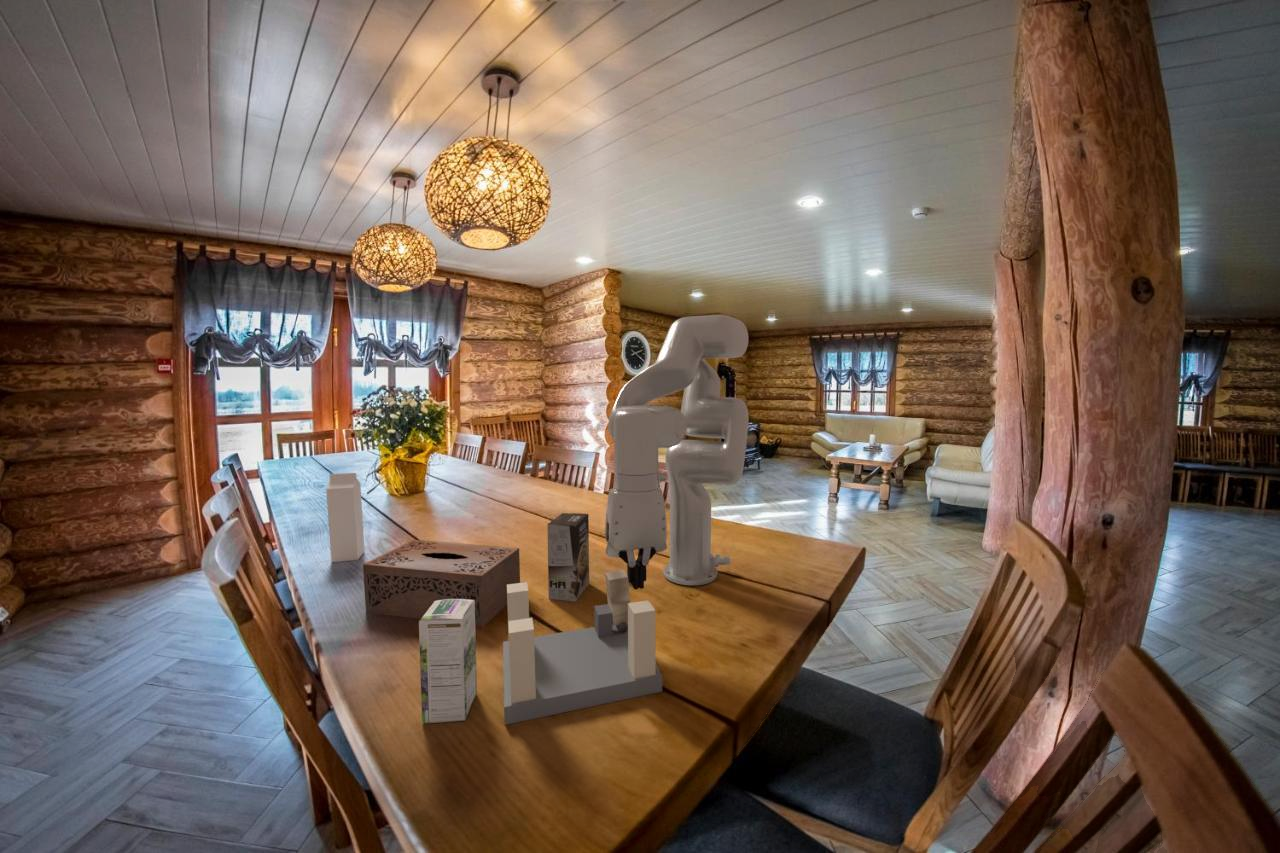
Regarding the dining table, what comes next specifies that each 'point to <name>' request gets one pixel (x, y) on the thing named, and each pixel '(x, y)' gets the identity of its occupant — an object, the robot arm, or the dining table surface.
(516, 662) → the footstool
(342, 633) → the dining table surface
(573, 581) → the coffee box
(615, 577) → the folding leg
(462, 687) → the syrup box
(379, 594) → the tissue box cover
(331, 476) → the milk
